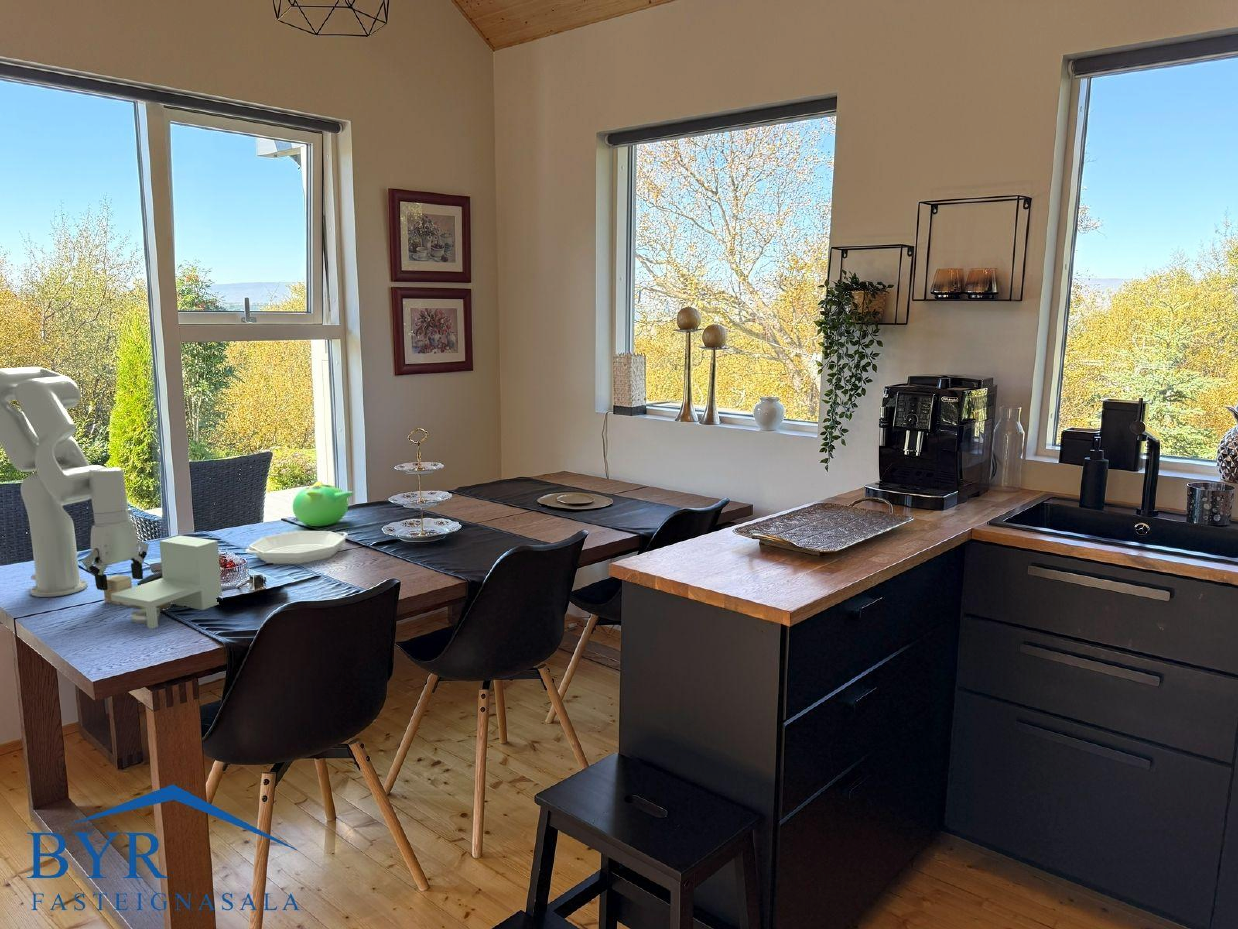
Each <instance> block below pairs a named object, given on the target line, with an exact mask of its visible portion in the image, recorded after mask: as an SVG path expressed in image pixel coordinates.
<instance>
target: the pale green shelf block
mask: <svg viewBox="0 0 1238 929" xmlns="http://www.w3.org/2000/svg"><path fill="white" fill-rule="evenodd" d="M159 551H160V554H159V555H160V562H161V563H160V564H161V572H162V576H163V578H161V579H158V580H155V581H152V582H148V583H145V584H142V585H136V586H132V588H129V589H126V590H123V591H120V592H117V593H113V594H111V600H112V601H117V602H122V603H127V604H132V605H138V606H143V607H146V615H147V623H146V624H147V629H150V630H151V629H152V630H153V629H155V628H158V627H159V624H158V621H159V620H157V611H156V606H157V605H160V604H163V603H166V602H170V603H172V604H171V605H173V604H176V605H175V606H180V607H184V606H187V607H186V608H189V607H190V608H191V609H194V610H200V611H204V610H206V609H209V608H211V607H214V606H218V605H220V604H219V602H217V599H216V598H218V597H219V596H222V597H223V592H222V591H223V590H222V578H221V570H220V564H219V557H220V555H219V554H220V552H219V541H218V540H216V539H215V540H214V539H207V538H200V537H194V536H185V535H176V536H172V537H169V538H164V539H162V540H159Z"/></svg>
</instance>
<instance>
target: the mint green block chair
mask: <svg viewBox="0 0 1238 929" xmlns="http://www.w3.org/2000/svg"><path fill="white" fill-rule="evenodd" d="M225 555H228V553H227V552H225ZM161 578H163V576H162V571H161V572H157V573H154V574H151V575H148V576H146V577H143V579H140V581H138V582H137V583H136V585H137V584H138V585H137V586H139V585H141V584H145V583H148V582H152V581H155V580H158V579H161Z"/></svg>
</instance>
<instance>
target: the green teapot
mask: <svg viewBox="0 0 1238 929" xmlns="http://www.w3.org/2000/svg"><path fill="white" fill-rule="evenodd" d="M354 493H355V492H354V491H353V490H352V491H350V490H349V491H343V490H342V489H341V488H339V487H337V486H334V485H331V484H330V485H329V484H323V482H321V481H320V480H318V481H316V482H315V483H313V485H311V486H308V487H305V488H303V489H301V490H300V491H299V492H297V494H296V495H295V497H294V499H293V503H292V512H293V514H294V516H295V517H296V519H297V520H298V521H299V522H301V523H302V524H304V525H307V526H312V527H325V526H330V525H332V524H335V523H337V522H339V521H340V520H342V519H343V517H344V516H345V515H346V514H347V512H348V508H349V500H348V498H350V497H352V496H353V495H354Z"/></svg>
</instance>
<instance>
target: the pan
mask: <svg viewBox="0 0 1238 929" xmlns="http://www.w3.org/2000/svg"><path fill="white" fill-rule="evenodd" d="M348 536H349V534H348V533H347V532H345V531H340V532H333V531H329V530H328V531H327V530H322V531H321V530H295V531H290V532H283V533H277V534H272V535H267V536H262V537H261V538H258V539H257V540H255V541H254V542H252V543H251V544H249V545H248V548H246V549H245V550H244V552H245V553H248V554H251V555H252V554H253V555H255V556H256V557H257V559H259V558H260V559H261V561H262V560H263V561H262V562H264V561H266V562H268V563H273V564H272V565H304V564H309V563H315V562H319V561H324V560H325V561H326V560H328V559H330V558H332V557H333V556H334V555H336V554H337V553H338V552H339V551H340V549H341V548H342V546H343V545H344V544H345V542H346V538H347V537H348ZM260 559H259V560H260ZM266 562H265V563H266ZM268 563H267V564H268Z"/></svg>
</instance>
